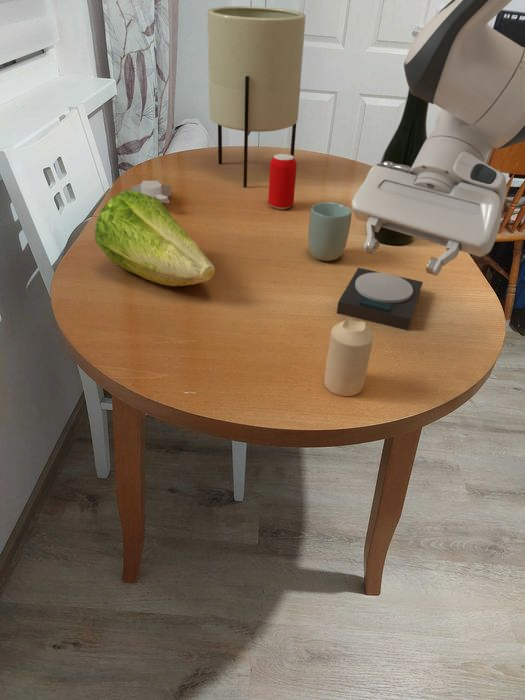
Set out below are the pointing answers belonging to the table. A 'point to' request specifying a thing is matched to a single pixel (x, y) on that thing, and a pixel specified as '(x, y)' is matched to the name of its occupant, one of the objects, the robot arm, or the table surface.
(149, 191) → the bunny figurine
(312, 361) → the table surface
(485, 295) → the table surface
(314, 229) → the cup
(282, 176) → the beverage can
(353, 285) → the scale
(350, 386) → the candle
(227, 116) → the planter
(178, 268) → the lettuce
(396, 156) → the dark wine bottle
